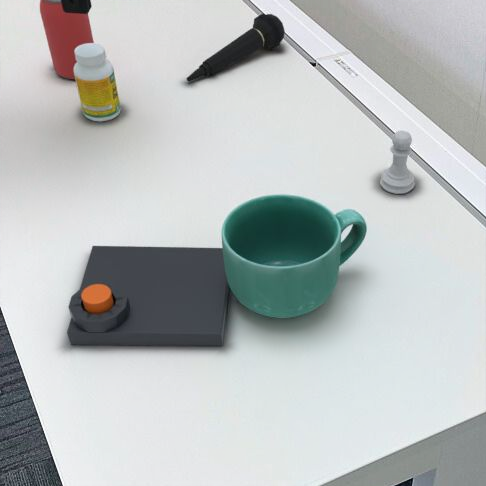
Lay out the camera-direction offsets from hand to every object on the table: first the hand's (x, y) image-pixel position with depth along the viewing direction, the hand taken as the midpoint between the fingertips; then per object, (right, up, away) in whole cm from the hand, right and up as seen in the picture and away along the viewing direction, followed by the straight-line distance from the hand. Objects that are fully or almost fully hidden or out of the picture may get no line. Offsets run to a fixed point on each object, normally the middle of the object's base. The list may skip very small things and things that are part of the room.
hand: (77, 10), depth 97 cm
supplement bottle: (-2, -8, +15) cm, 17 cm away
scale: (+13, -37, -11) cm, 41 cm away
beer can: (-8, 0, +23) cm, 24 cm away
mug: (+28, -36, -8) cm, 47 cm away
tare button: (+8, -38, -16) cm, 42 cm away
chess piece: (+41, -21, +7) cm, 46 cm away
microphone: (+16, +4, +28) cm, 32 cm away
